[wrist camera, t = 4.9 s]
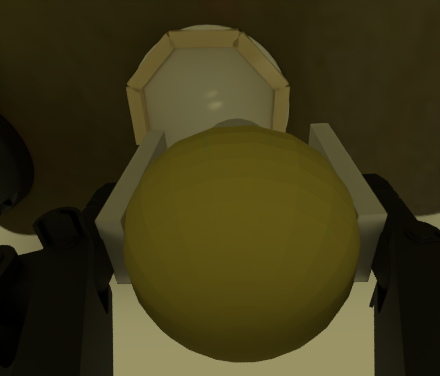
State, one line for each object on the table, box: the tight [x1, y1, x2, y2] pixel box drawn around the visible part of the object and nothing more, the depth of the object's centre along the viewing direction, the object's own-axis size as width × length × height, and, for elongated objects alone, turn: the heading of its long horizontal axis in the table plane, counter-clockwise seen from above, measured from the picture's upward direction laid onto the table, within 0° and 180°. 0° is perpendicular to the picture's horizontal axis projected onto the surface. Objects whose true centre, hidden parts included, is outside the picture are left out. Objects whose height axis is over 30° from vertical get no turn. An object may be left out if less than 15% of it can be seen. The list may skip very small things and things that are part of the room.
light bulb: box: [123, 118, 361, 362], centre depth 11 cm, size 7×7×10 cm
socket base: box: [126, 24, 290, 149], centre depth 29 cm, size 15×15×2 cm
